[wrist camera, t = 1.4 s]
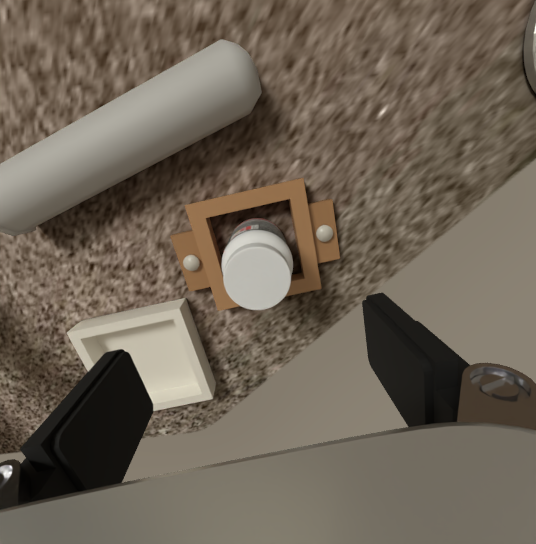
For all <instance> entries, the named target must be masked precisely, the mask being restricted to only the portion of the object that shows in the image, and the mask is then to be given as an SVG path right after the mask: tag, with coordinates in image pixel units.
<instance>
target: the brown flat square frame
mask: <svg viewBox="0 0 536 544" xmlns="http://www.w3.org/2000/svg"><path fill="white" fill-rule="evenodd" d="M287 199H288V200H289V206H290V211H291V216H292V222H293V227H294V232H295V238H296V243H297V249H298V254H299V259H300V265H301V270H302V273H298V274H293V275H291V284H290V288H289V290H288V292H287V294H286V296H290V295H294V294H299V293H304V292H308V291H313V290H318V289H321V283H320V276H319V270H318V263H322V262H327V261H331V260H336V259H340V254H339V246H338V239H337V231H336V223H335V216H334V208H333V201H332V199H326V200H322V201H318V202H313V203H309V204H308V203H307V197H306V191H305V185H304V178H299V179H295V180H291V181H286V182H282V183H278V184H273V185H269V186H265V187H260V188H256V189H252V190H247V191H243V192H239V193H234V194H230V195H226V196H221V197H217V198H213V199H208V200H204V201H200V202H195V203H191V204H188V205H185V208H186V211H187V214H188V217H189V220H190V224H191V227H192V230H190V231H185V232H181V233H177V234H173V235H171V236H170V237H171V240H172V242H173V245H174V248H175V251H176V254H177V257H178V260H179V263H180V265H181V268H182V271H183V274H184V277H185V280H186V283H187V286H188V288H189V291H194V290H198V289H203V288H208V287H211V290H212V293H213V296H214V299H215V303H216V306H217V309H218V311H220V310H224V309H229V308H234V307H238V306H240V305H238V304H236V303H235V302H234V301H233V300H232V299H231V298H230V297H229V295H228V293H227V292H226V289H225V286H224V281H223V272H222V259H221V255H220V252H219V249H218V245H217V242H216V238H215V235H214V231H213V228H212V224H211V221H210V217H213V216H217V215H221V214H226V213H230V212H234V211H239V210H243V209H248V208H252V207H256V206H261V205H265V204H269V203H274V202H278V201H283V200H287Z"/></svg>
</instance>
